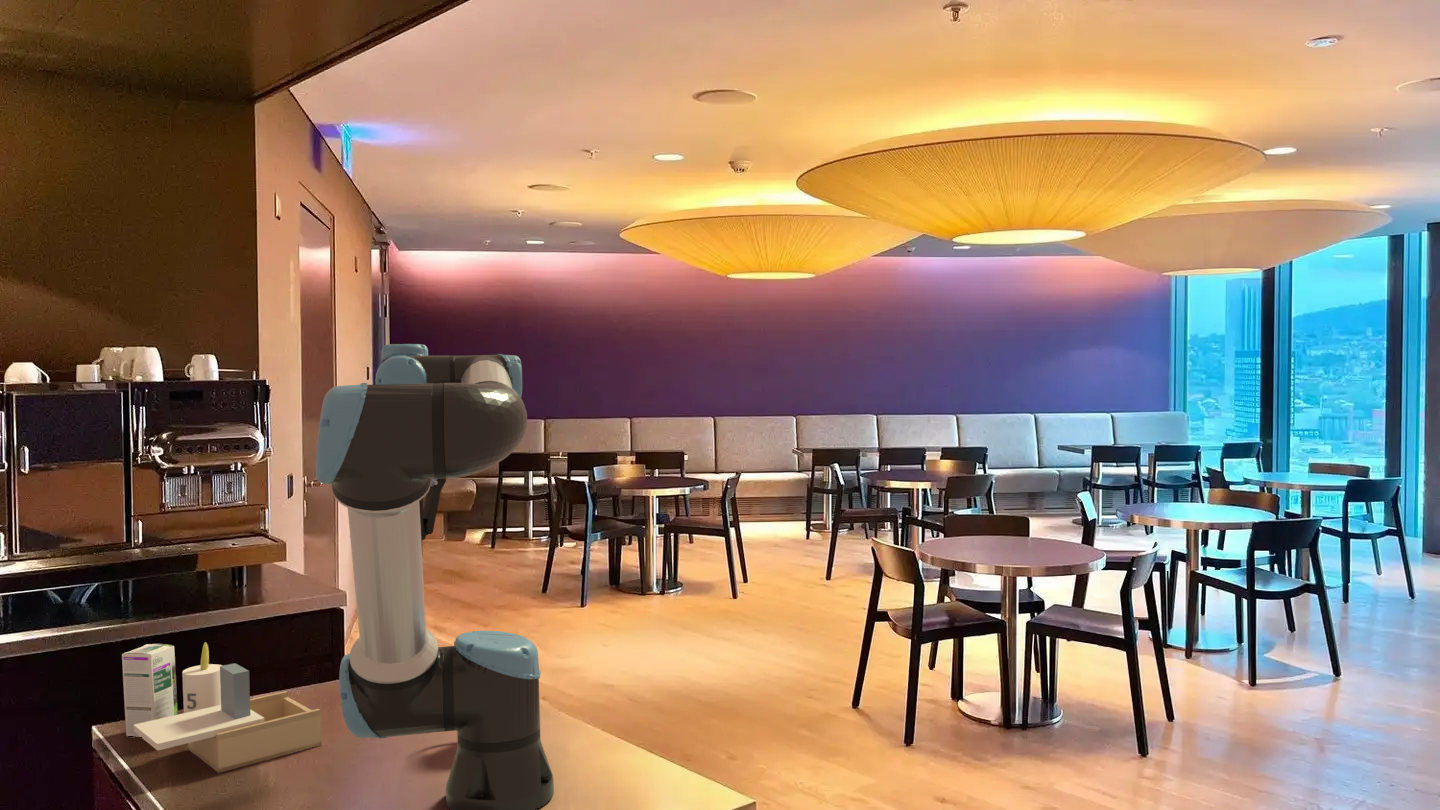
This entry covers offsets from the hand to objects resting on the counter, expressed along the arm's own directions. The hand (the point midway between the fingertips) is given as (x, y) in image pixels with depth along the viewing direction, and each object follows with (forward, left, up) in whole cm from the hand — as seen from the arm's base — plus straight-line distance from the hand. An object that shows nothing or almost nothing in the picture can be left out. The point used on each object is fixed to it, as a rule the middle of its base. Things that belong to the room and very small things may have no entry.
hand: (410, 578), depth 175 cm
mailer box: (+10, +23, -26) cm, 36 cm away
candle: (+24, +29, -27) cm, 46 cm away
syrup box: (+28, +36, -27) cm, 53 cm away
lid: (+9, +31, -21) cm, 39 cm away
